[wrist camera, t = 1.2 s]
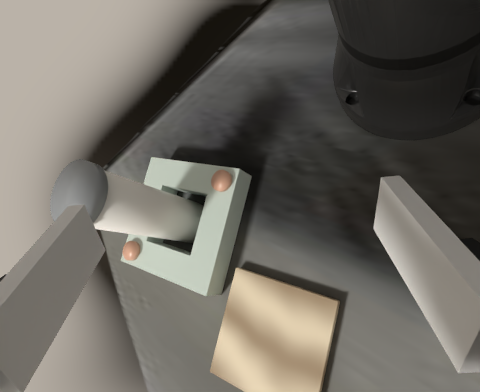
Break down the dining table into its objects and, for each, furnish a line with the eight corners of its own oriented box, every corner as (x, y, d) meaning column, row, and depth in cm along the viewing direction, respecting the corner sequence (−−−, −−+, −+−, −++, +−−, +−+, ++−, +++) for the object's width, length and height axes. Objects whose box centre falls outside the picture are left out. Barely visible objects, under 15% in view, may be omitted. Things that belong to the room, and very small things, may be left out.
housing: (166, 164, 43) (148, 155, 40) (251, 176, 36) (236, 167, 33) (138, 261, 41) (116, 260, 38) (221, 294, 34) (202, 296, 31)
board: (240, 267, 34) (236, 267, 33) (340, 300, 28) (338, 301, 27) (215, 369, 32) (209, 371, 32) (314, 425, 27) (311, 429, 26)
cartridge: (180, 196, 40) (63, 156, 27) (215, 203, 37) (103, 162, 24) (168, 239, 40) (42, 220, 26) (202, 250, 37) (80, 235, 23)
